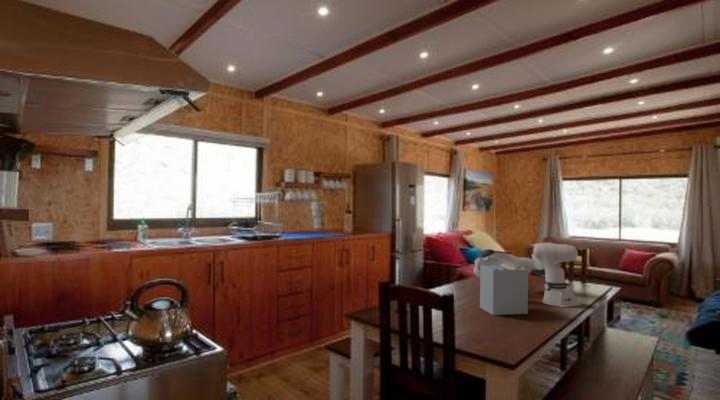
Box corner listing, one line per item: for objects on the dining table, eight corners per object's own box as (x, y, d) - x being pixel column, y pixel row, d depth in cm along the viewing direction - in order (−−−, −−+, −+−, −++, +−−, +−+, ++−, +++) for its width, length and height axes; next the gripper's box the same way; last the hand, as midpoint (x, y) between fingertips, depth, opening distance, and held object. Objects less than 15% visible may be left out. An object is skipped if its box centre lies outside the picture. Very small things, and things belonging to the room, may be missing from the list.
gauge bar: (501, 262, 244) (501, 258, 244) (518, 268, 224) (518, 263, 224) (496, 263, 243) (496, 258, 243) (513, 268, 224) (514, 263, 224)
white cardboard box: (512, 306, 236) (513, 263, 236) (527, 313, 220) (528, 268, 221) (479, 307, 233) (480, 264, 233) (492, 315, 217) (493, 268, 217)
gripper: (502, 268, 259) (511, 261, 247) (474, 269, 256) (482, 262, 244) (499, 260, 262) (509, 252, 250) (472, 260, 259) (480, 252, 247)
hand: (495, 257), depth 247 cm, fingers open, 8 cm apart
